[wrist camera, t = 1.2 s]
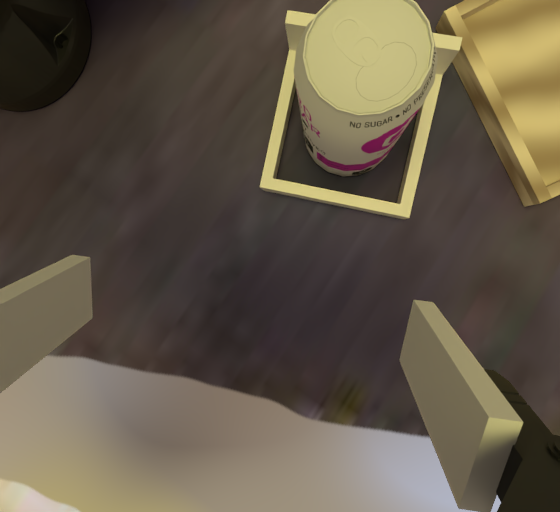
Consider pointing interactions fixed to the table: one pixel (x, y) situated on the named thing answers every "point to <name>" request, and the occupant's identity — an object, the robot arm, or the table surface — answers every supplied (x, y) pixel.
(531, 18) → the tray
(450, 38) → the dock
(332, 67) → the supplement can
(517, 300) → the table surface
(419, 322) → the robot arm
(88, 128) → the table surface
